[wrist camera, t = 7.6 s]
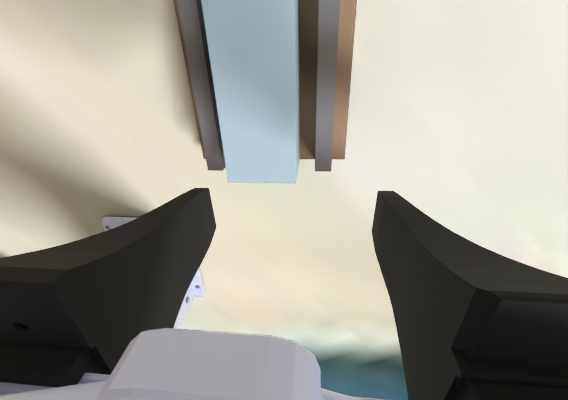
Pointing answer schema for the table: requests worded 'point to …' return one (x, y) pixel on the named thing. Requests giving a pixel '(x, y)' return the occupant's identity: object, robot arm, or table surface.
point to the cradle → (312, 78)
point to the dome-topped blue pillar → (256, 86)
